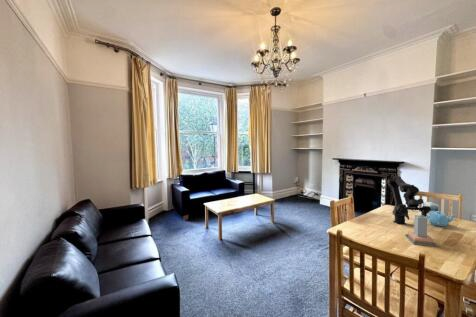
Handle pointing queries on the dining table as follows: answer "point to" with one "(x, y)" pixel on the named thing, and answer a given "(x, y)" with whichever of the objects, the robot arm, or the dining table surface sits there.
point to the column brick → (420, 226)
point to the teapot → (439, 219)
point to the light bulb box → (433, 206)
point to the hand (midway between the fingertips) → (417, 220)
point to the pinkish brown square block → (420, 239)
